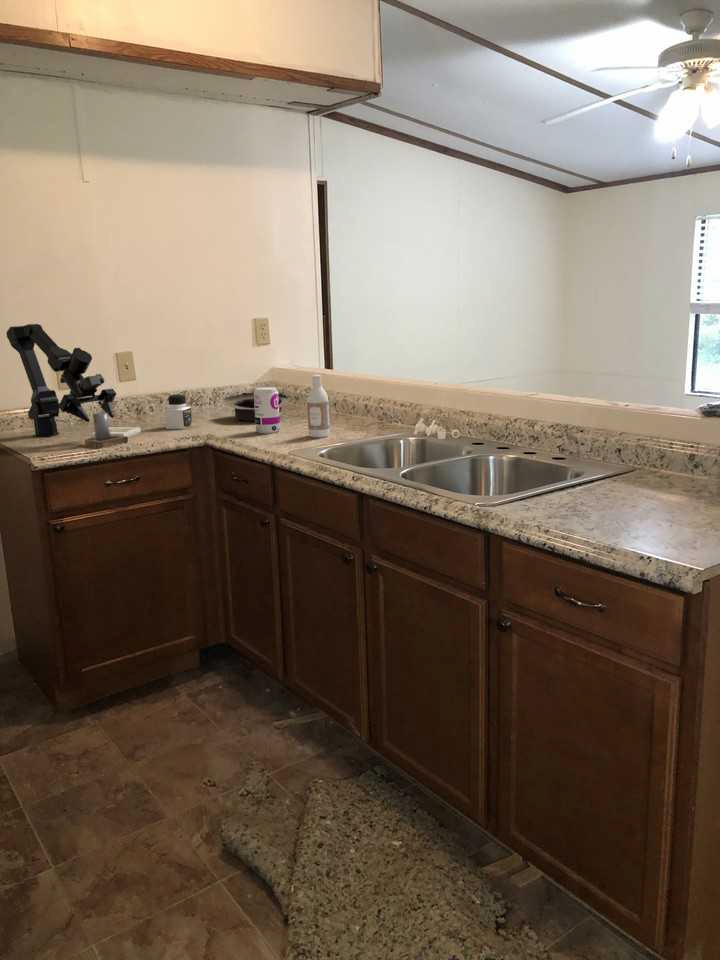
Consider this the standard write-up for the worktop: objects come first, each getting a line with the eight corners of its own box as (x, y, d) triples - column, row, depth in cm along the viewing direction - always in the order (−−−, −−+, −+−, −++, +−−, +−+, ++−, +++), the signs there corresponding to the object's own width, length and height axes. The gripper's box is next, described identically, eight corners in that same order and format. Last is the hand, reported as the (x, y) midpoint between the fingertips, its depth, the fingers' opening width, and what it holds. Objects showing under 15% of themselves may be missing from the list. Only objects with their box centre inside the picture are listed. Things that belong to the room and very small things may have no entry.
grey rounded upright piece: (91, 445, 252) (87, 415, 250) (100, 442, 258) (97, 412, 255) (107, 445, 251) (103, 415, 249) (115, 442, 256) (112, 412, 254)
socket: (85, 446, 251) (84, 440, 251) (114, 440, 260) (113, 434, 259) (99, 448, 247) (98, 442, 246) (128, 442, 255) (127, 436, 255)
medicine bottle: (184, 429, 278) (181, 395, 275) (165, 429, 280) (163, 395, 277) (192, 426, 285) (190, 393, 282) (174, 426, 286) (171, 393, 284)
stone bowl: (255, 411, 315) (255, 388, 312) (303, 420, 301) (304, 397, 298) (210, 419, 295) (210, 395, 293) (259, 429, 281) (259, 404, 279)
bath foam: (305, 437, 255) (302, 376, 251) (313, 433, 262) (310, 374, 257) (325, 438, 253) (323, 376, 249) (332, 434, 260) (330, 374, 255)
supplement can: (284, 430, 270) (282, 387, 267) (272, 434, 263) (269, 390, 260) (264, 429, 274) (261, 386, 270) (251, 433, 266) (248, 389, 263)
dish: (91, 439, 264) (90, 433, 263) (109, 432, 275) (108, 427, 275) (124, 439, 261) (123, 433, 261) (140, 433, 273) (140, 427, 272)
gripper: (59, 369, 244) (84, 406, 240) (110, 364, 259) (134, 399, 255) (48, 393, 251) (72, 429, 247) (98, 386, 265) (121, 421, 261)
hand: (101, 419), depth 252 cm, fingers open, 9 cm apart
